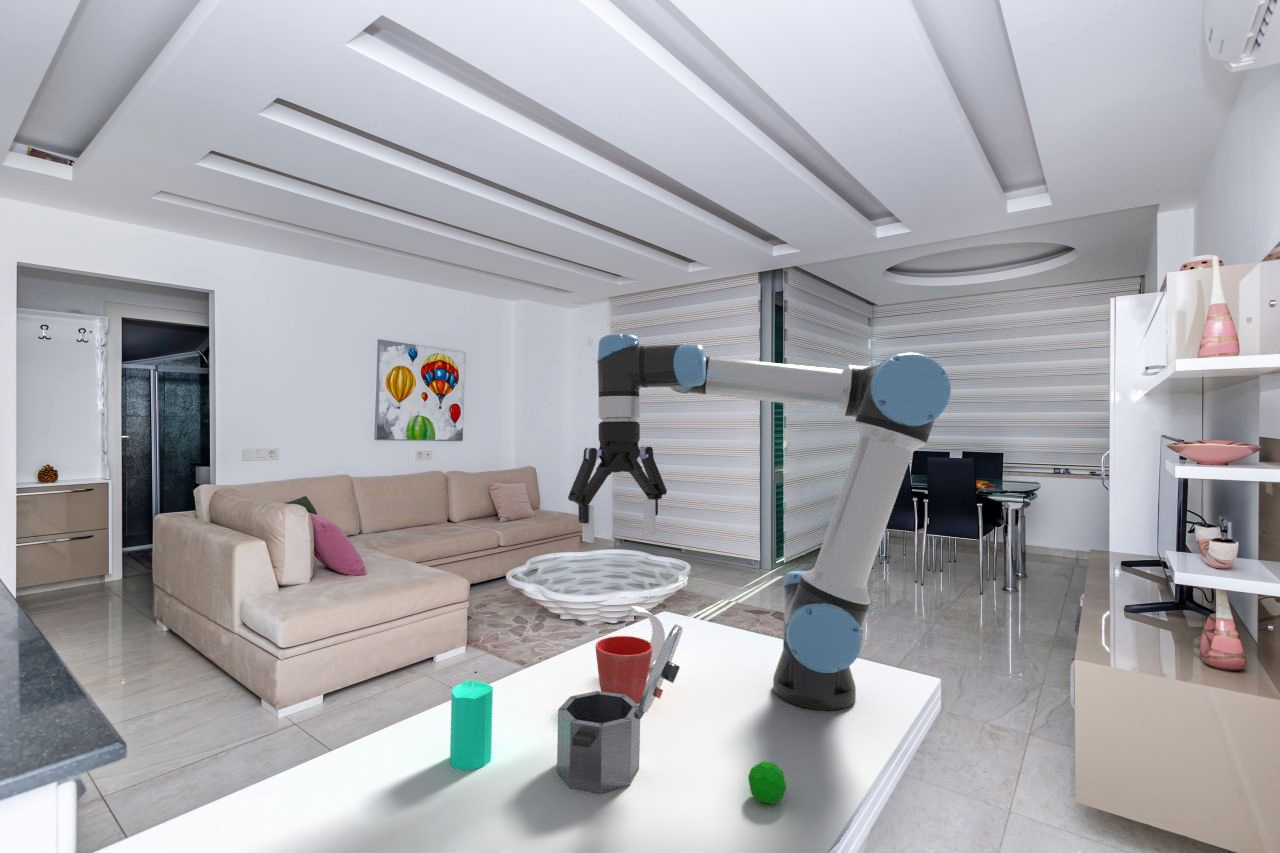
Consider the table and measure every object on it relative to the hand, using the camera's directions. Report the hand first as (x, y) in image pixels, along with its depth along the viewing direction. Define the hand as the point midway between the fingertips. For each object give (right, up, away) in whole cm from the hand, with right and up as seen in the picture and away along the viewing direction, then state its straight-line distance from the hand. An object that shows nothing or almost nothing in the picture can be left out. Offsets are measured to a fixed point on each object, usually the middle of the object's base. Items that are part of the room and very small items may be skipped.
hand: (620, 537), depth 113 cm
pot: (-2, -30, -23) cm, 37 cm away
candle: (-22, -30, -21) cm, 42 cm away
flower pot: (0, -30, +2) cm, 30 cm away
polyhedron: (+21, -30, -29) cm, 47 cm away
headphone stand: (+5, -30, +19) cm, 36 cm away
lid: (+6, -14, -25) cm, 29 cm away
